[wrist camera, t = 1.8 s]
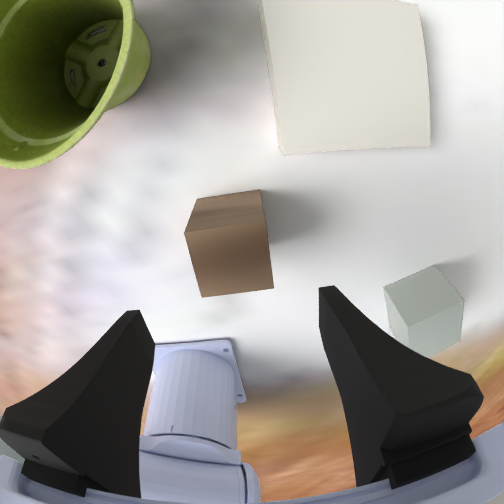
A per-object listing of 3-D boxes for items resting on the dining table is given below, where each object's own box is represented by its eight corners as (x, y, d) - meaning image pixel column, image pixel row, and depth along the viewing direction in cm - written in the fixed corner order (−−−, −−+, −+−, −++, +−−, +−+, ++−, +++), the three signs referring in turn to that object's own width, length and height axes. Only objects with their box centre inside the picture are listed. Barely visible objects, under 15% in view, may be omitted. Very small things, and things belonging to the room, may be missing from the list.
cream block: (407, 138, 18) (430, 147, 15) (277, 146, 18) (284, 155, 16) (395, 13, 13) (417, 4, 11) (258, 9, 14) (261, -5, 11)
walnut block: (267, 245, 21) (274, 288, 17) (209, 253, 21) (201, 297, 17) (259, 189, 19) (265, 220, 15) (197, 198, 19) (184, 232, 15)
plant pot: (159, -26, 12) (108, -88, 4) (198, 102, 16) (163, 109, 9) (36, 39, 13) (-53, 36, 5) (70, 155, 17) (-14, 202, 10)
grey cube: (435, 305, 25) (459, 341, 20) (389, 326, 26) (409, 366, 21) (433, 264, 23) (464, 299, 18) (382, 286, 23) (407, 327, 19)
